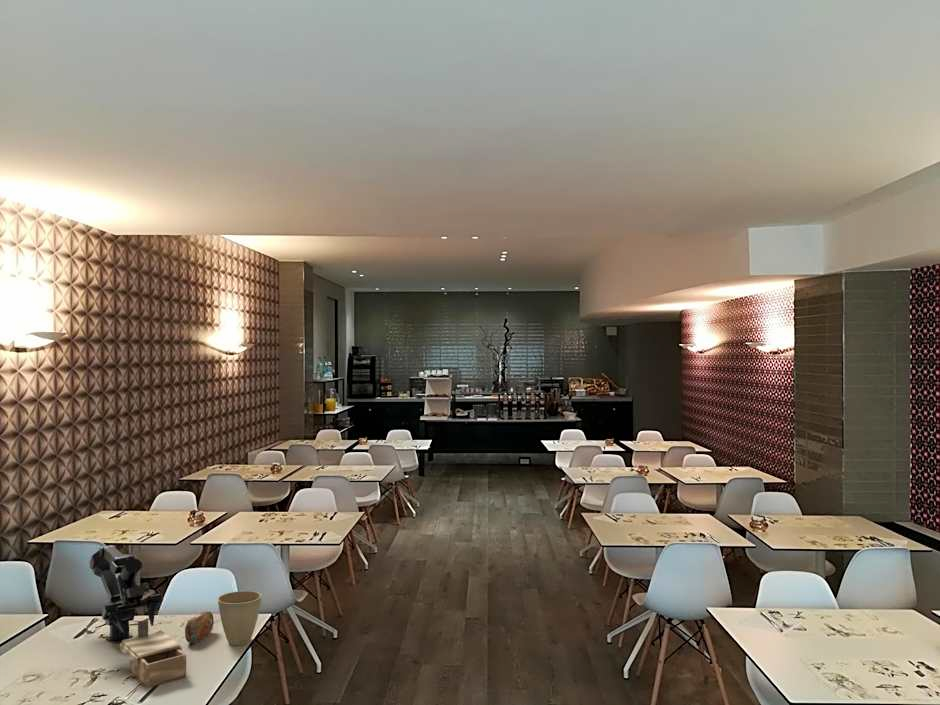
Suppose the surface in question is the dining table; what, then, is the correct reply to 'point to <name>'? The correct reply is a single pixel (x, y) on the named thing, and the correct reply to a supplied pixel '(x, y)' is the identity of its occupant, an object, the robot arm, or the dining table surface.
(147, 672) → the carton
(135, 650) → the carton lid
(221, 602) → the plant pot
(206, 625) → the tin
